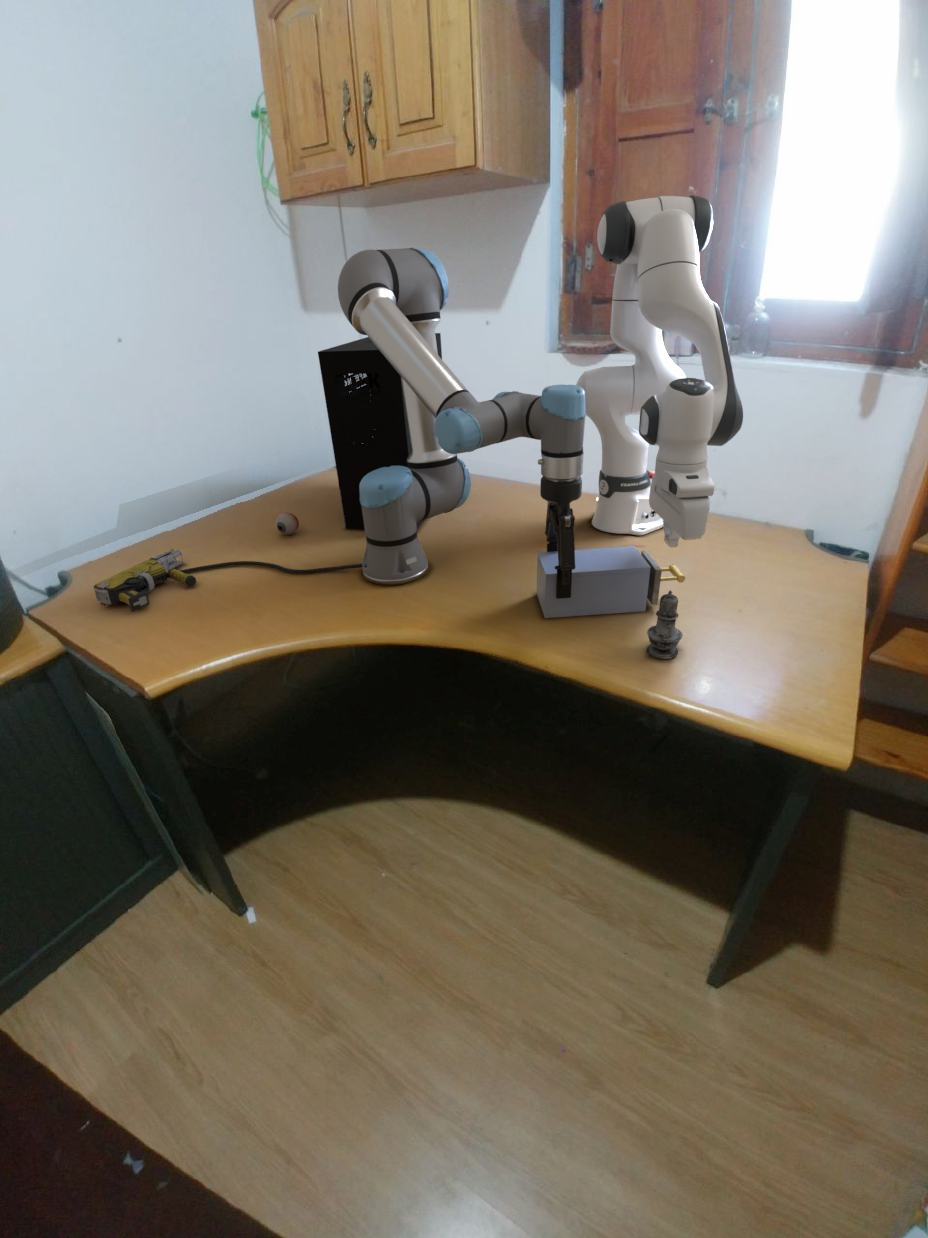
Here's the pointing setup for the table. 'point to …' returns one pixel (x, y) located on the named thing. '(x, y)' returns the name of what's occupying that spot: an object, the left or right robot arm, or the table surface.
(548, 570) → the cabinet
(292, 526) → the eyeball
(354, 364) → the black tall box
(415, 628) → the table surface
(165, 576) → the toy gun
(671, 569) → the drawer
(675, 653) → the dark grey chess piece
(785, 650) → the table surface
